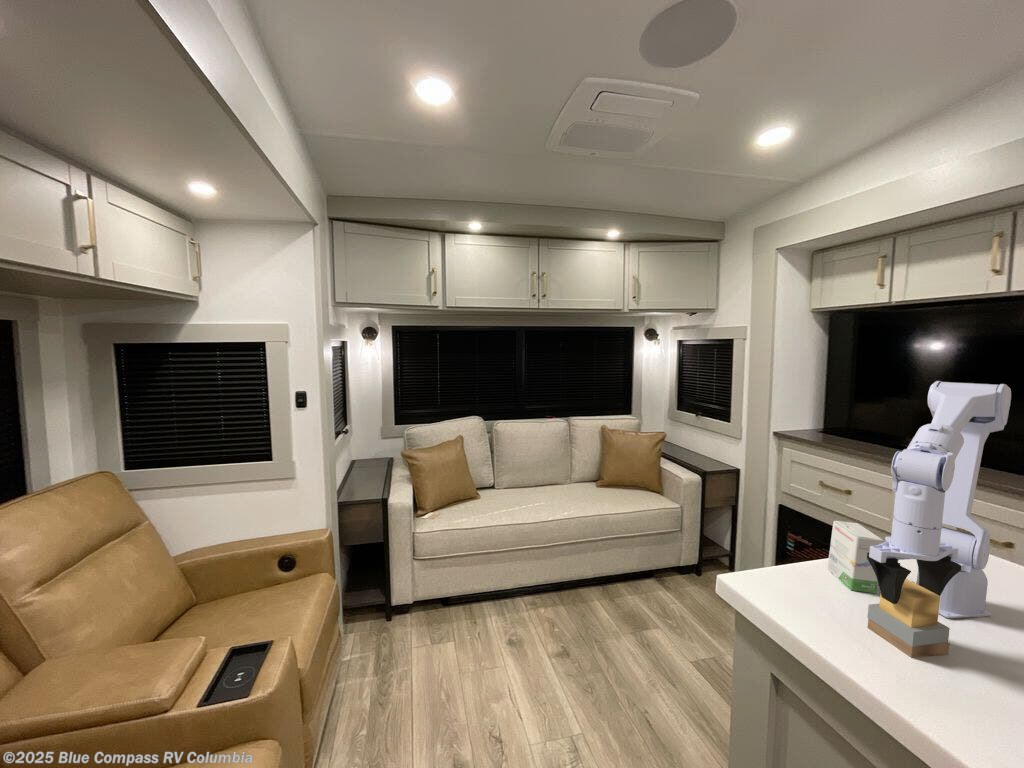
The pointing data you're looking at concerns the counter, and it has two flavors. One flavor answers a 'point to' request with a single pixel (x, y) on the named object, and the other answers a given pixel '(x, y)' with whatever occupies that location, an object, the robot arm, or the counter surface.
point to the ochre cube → (914, 606)
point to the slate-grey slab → (908, 628)
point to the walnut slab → (905, 647)
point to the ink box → (853, 556)
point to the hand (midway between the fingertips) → (908, 599)
